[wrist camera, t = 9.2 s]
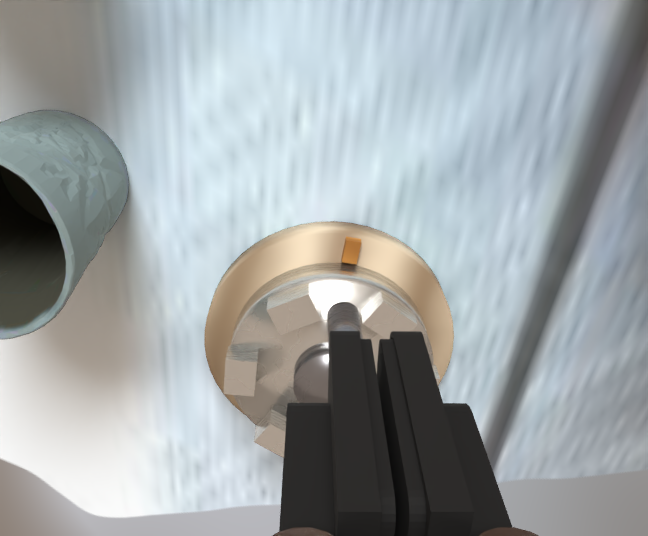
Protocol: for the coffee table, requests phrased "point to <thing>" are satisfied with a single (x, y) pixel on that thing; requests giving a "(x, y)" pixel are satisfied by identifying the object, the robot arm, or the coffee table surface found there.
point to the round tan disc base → (326, 247)
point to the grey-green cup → (52, 211)
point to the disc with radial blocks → (307, 338)
